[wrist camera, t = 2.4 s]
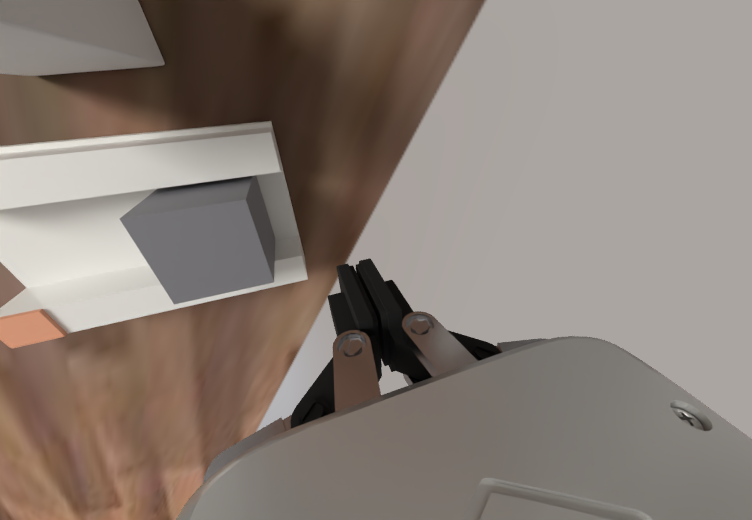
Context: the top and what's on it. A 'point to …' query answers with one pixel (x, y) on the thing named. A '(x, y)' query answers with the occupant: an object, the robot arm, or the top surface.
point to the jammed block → (205, 237)
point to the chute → (118, 221)
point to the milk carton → (74, 37)
